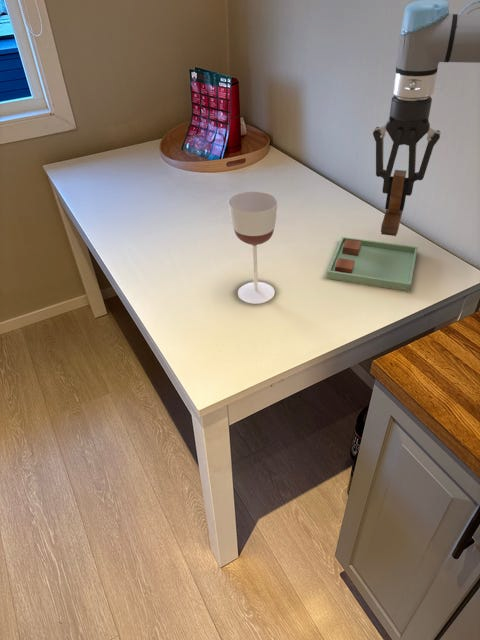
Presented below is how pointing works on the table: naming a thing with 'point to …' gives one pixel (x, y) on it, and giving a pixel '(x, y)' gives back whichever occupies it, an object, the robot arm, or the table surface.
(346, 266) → the chip
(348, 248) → the chip
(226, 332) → the table surface
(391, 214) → the brown piece
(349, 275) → the tray
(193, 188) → the table surface
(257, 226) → the wineglass
